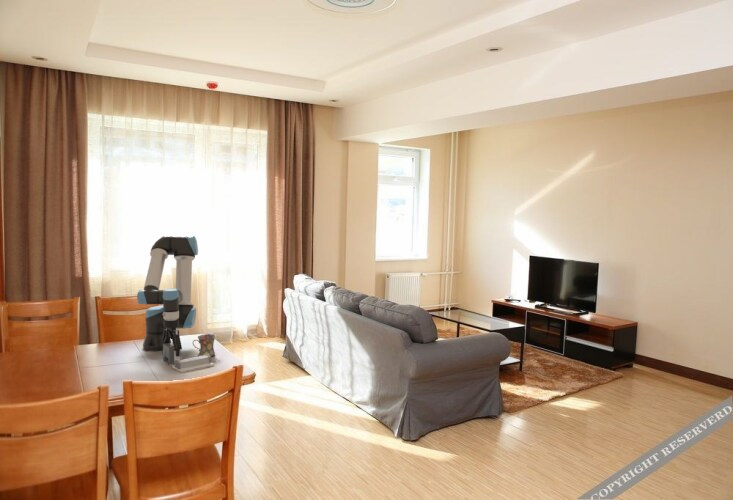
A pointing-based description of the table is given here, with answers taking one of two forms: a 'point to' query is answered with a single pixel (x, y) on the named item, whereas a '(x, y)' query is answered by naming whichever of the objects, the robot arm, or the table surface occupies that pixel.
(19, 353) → the table surface
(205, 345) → the mug
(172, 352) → the module
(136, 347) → the table surface
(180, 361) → the butter dish
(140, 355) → the table surface
